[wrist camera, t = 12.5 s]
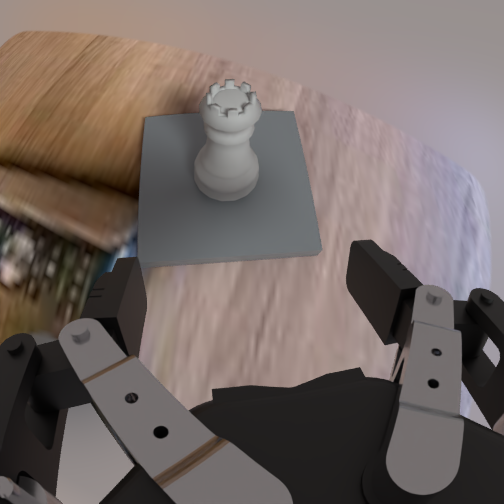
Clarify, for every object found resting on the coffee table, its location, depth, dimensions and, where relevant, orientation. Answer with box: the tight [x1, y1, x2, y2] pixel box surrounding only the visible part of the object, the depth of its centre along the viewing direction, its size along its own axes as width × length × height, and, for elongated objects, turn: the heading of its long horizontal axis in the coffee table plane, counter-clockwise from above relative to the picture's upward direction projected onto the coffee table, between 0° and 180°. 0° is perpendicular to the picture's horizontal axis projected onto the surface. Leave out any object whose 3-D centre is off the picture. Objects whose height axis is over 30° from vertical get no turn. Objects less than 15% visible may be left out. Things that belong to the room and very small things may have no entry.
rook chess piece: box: [194, 79, 262, 201], centre depth 19 cm, size 4×4×8 cm
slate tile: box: [138, 111, 322, 268], centre depth 23 cm, size 12×12×1 cm
